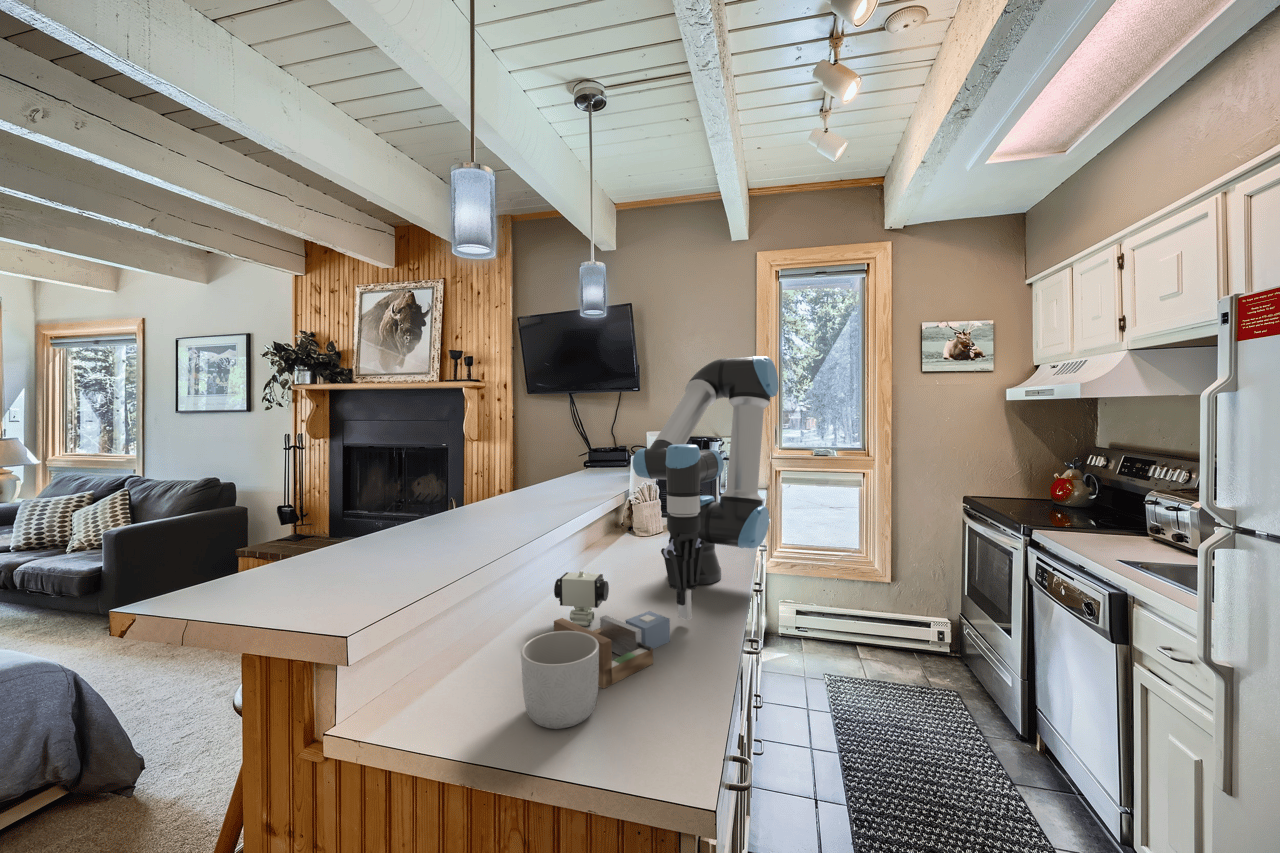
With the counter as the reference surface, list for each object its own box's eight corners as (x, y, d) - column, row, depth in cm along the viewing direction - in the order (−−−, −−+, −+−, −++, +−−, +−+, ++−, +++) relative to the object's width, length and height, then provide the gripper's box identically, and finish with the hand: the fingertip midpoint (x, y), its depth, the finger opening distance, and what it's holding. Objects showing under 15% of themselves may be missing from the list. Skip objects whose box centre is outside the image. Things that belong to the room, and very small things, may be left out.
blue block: (649, 633, 114) (649, 609, 114) (669, 642, 110) (669, 617, 109) (625, 643, 109) (625, 618, 109) (645, 653, 105) (645, 627, 105)
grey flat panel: (606, 643, 108) (605, 615, 108) (653, 665, 99) (652, 634, 98) (600, 646, 107) (600, 617, 107) (647, 668, 98) (646, 636, 97)
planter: (531, 746, 76) (529, 672, 76) (515, 703, 87) (514, 638, 87) (611, 724, 81) (610, 655, 81) (586, 686, 92) (585, 625, 92)
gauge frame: (603, 640, 110) (602, 603, 110) (653, 663, 100) (652, 622, 100) (554, 661, 102) (553, 620, 101) (603, 688, 91) (602, 643, 91)
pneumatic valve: (604, 629, 116) (603, 575, 116) (554, 625, 119) (553, 573, 118) (610, 619, 122) (609, 568, 121) (562, 616, 124) (561, 566, 124)
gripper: (689, 507, 124) (690, 605, 125) (651, 515, 115) (652, 621, 116) (714, 511, 119) (715, 613, 120) (676, 520, 110) (678, 631, 111)
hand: (684, 617), depth 118 cm, fingers closed
